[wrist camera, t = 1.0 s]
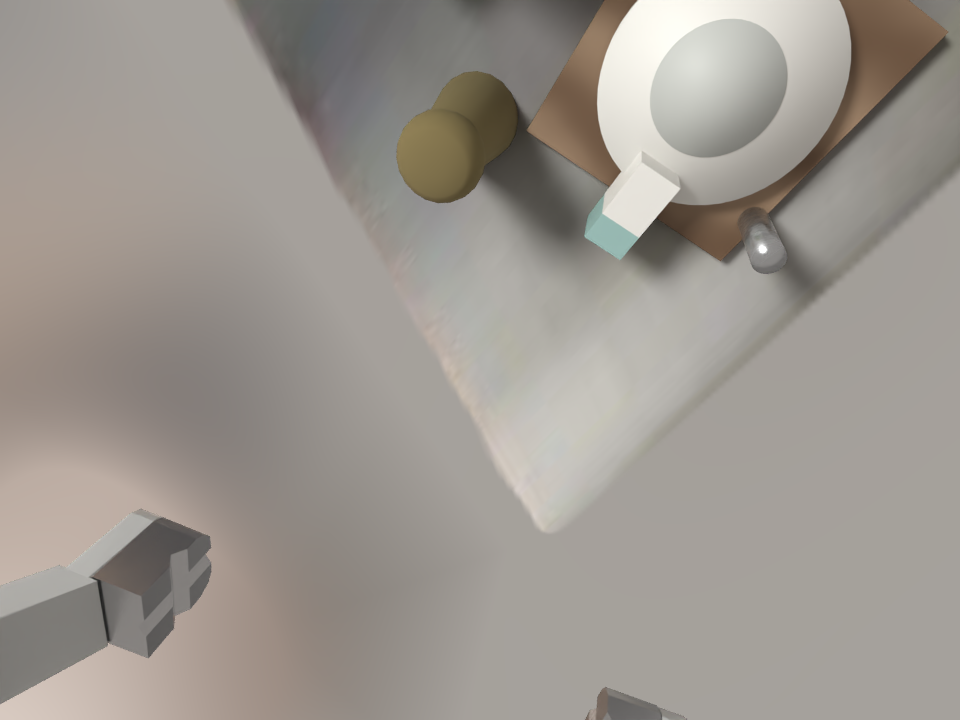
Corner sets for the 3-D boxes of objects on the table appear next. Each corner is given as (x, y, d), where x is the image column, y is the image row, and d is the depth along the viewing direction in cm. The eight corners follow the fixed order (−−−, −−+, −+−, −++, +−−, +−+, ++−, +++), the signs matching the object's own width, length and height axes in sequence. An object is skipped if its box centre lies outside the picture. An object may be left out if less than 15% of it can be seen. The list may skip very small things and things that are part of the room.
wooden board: (701, -162, 29) (703, -166, 28) (941, 29, 32) (950, 32, 31) (528, 127, 40) (525, 131, 39) (718, 255, 42) (720, 262, 41)
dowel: (750, 196, 39) (769, 237, 34) (772, 211, 39) (794, 255, 34) (729, 218, 40) (743, 262, 35) (751, 233, 40) (768, 279, 35)
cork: (505, 60, 37) (466, 95, 29) (527, 150, 41) (497, 207, 32) (424, 84, 39) (365, 124, 31) (450, 168, 43) (403, 226, 34)
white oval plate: (705, -113, 29) (712, -119, 26) (904, 43, 31) (931, 54, 28) (524, 174, 40) (516, 192, 37) (680, 277, 42) (683, 301, 39)
